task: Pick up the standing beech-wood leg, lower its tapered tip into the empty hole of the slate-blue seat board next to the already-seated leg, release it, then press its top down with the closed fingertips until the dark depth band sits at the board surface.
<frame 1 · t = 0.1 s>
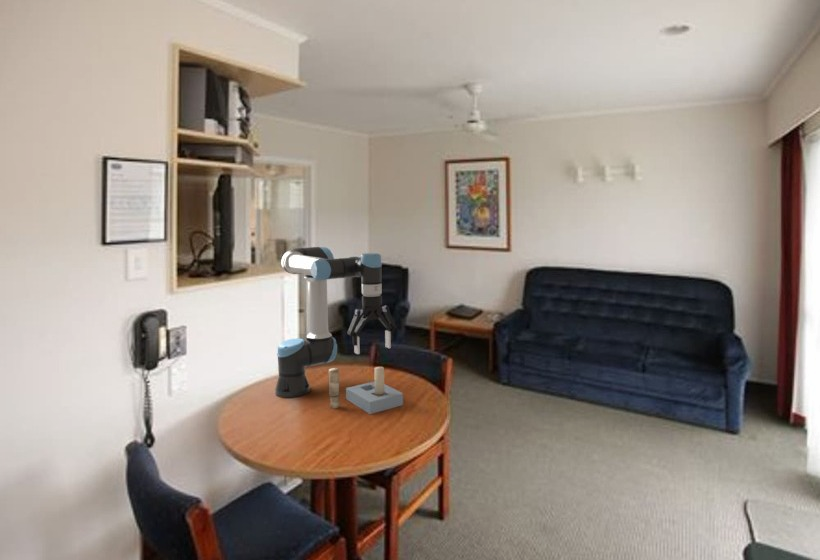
hand: (372, 350, 182), 28 cm above the table, fingers open, 13 cm apart
seat board: (374, 402, 204), on the table
beech leg: (334, 407, 199), on the table
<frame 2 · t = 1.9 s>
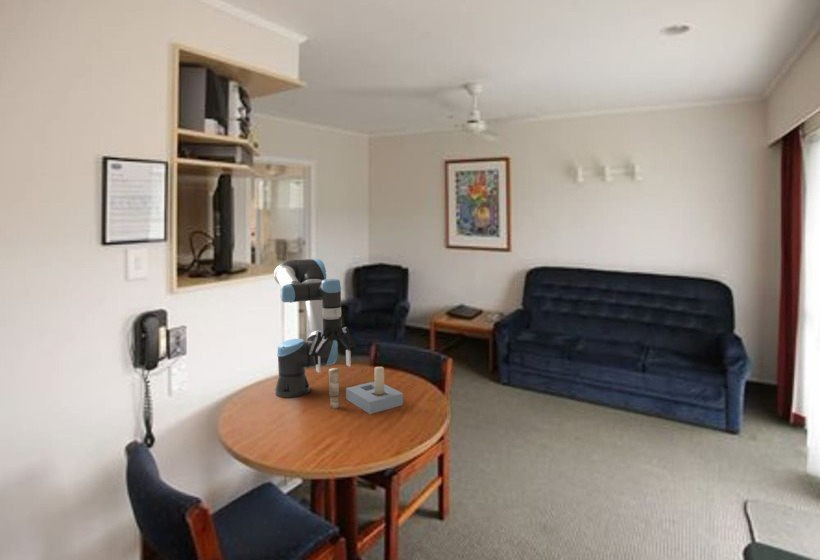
hand: (333, 368, 197), 16 cm above the table, fingers open, 13 cm apart
nothing on the table moved.
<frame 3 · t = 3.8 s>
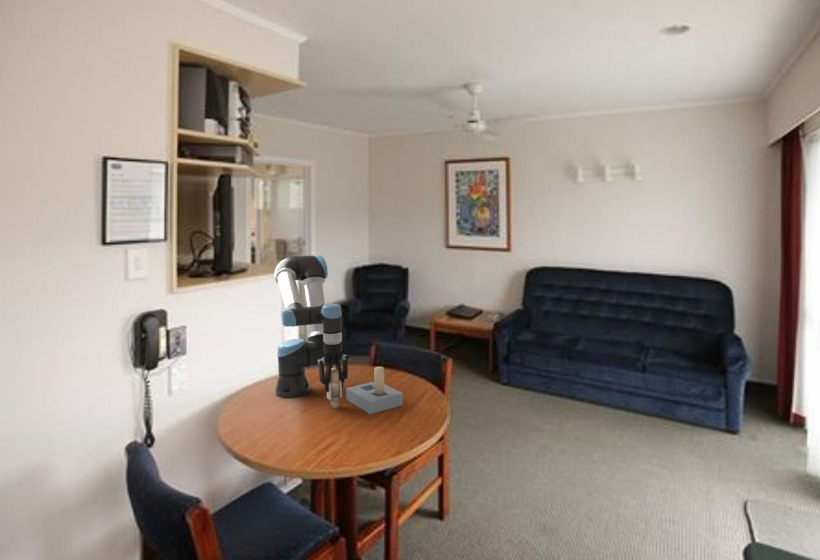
hand: (334, 397, 199), 4 cm above the table, fingers closed on beech leg, 4 cm apart
beech leg: (334, 407, 199), on the table, touching gripper
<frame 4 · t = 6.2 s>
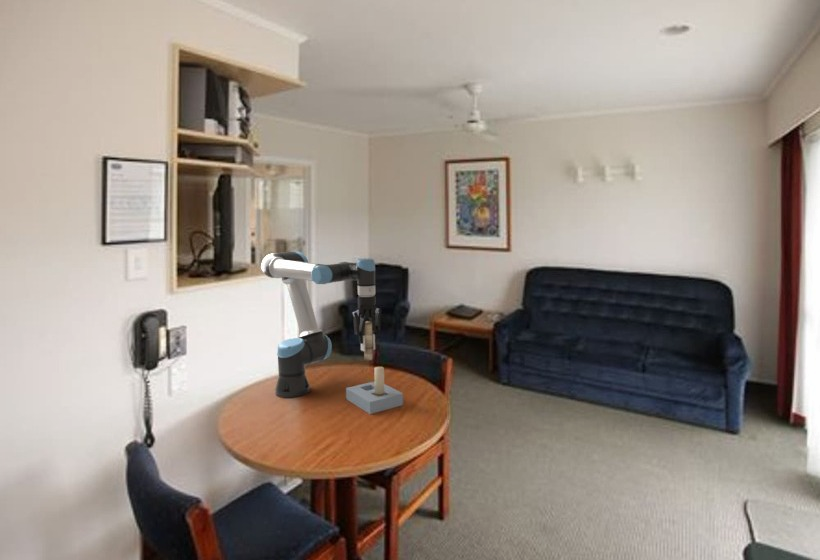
hand: (367, 349, 205), 22 cm above the table, fingers closed on beech leg, 4 cm apart
beech leg: (368, 359, 205), point 18 cm above the table, touching gripper
when the fingers open (6 cm above the table, at t = 8.7 s): beech leg drops 2 cm, resting in seat board.
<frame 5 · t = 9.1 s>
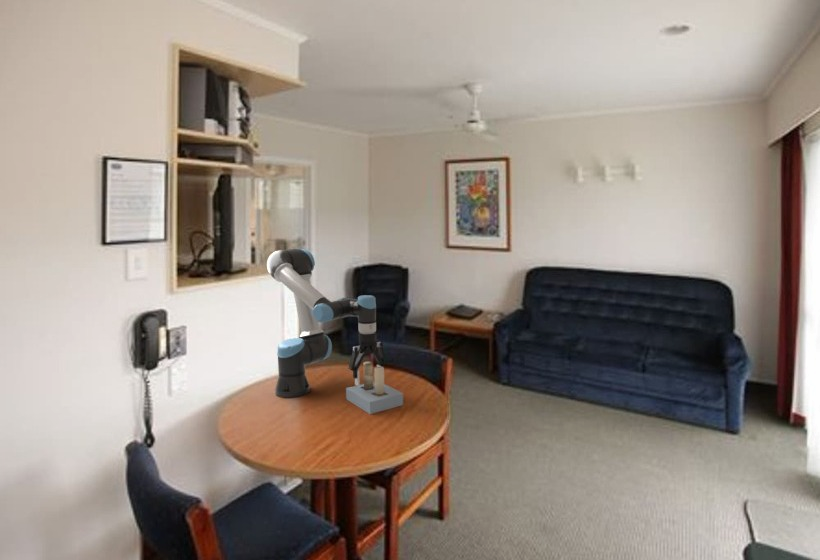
hand: (368, 382, 207), 7 cm above the table, fingers open, 10 cm apart
beech leg: (368, 398, 208), resting in seat board
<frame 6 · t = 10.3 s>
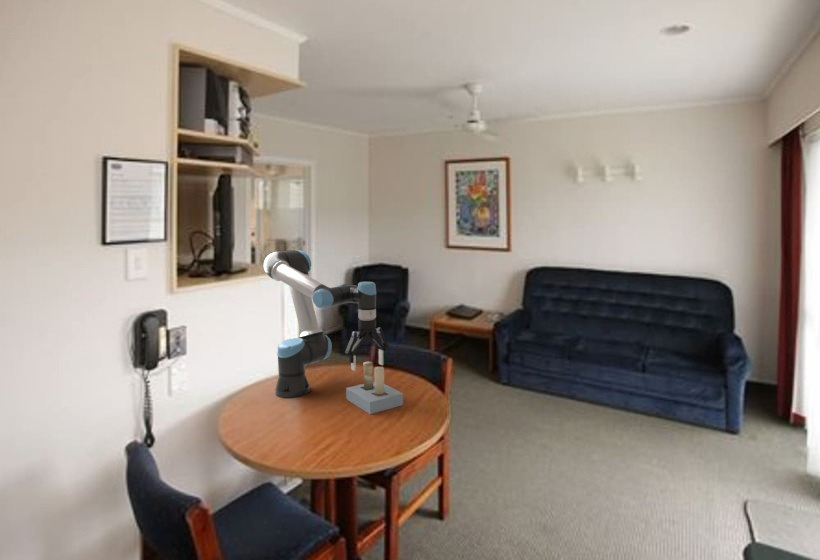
hand: (367, 367, 206), 14 cm above the table, fingers open, 13 cm apart
nothing on the table moved.
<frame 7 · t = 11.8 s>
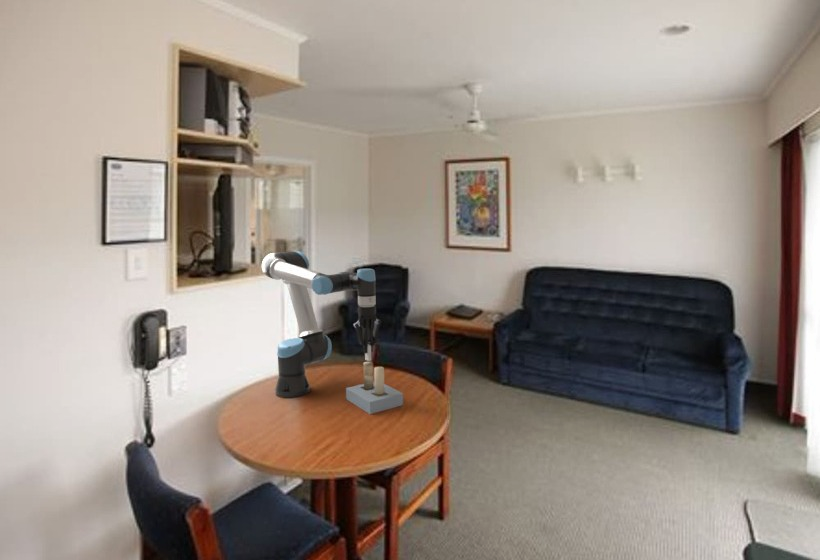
hand: (368, 359, 206), 17 cm above the table, fingers closed
nothing on the table moved.
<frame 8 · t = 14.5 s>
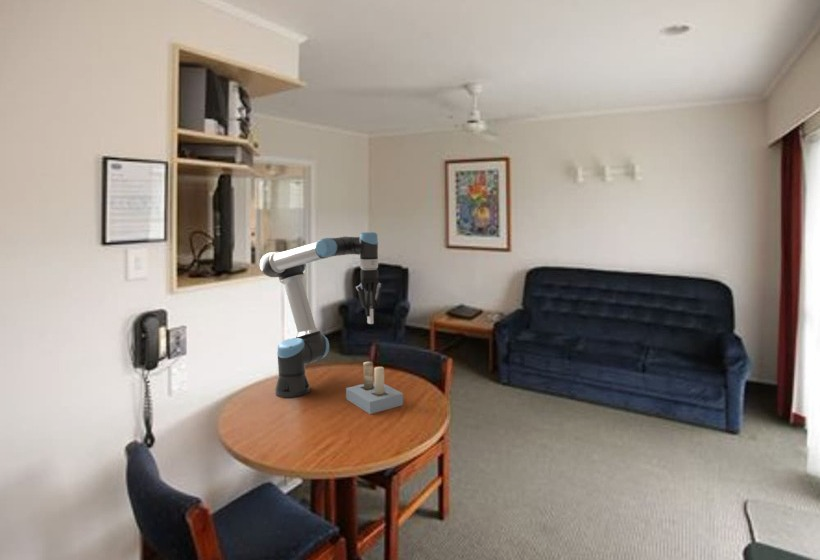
hand: (370, 323, 207), 32 cm above the table, fingers closed
nothing on the table moved.
at the end: beech leg 0.1 cm from the target spot on the seat board, point 0.0 cm above the seat board's base; beech leg tilted 0°; the gripper is holding nothing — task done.
